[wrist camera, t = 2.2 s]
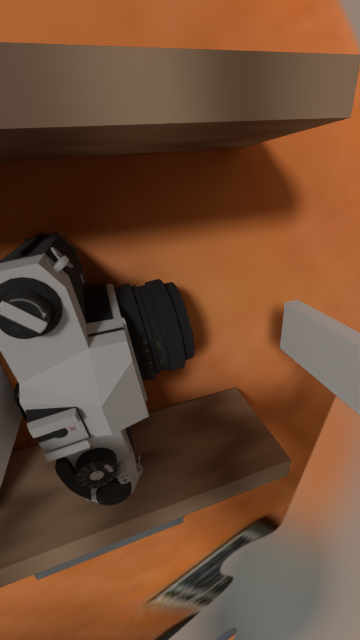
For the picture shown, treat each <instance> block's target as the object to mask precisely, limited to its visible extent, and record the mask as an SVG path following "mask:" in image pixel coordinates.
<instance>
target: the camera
mask: <svg viewBox="0 0 360 640" xmlns="http://www.w3.org/2000/svg"><path fill="white" fill-rule="evenodd" d="M0 351H1V353H2V355H3V357H4V358H5V360H6V362H7V363H8V365H9V367H10V369H11V370H12V372H13V374H14V376H15V377H16V379H17V381H18V383H17V384H16V386H15V390H14V395H13V399H14V401H15V403H16V405H17V406H18V408H19V410H20V412H21V414H22V415H23V417H24V419H25V420H26V422H27V427H28V430H29V432H30V434H31V435H32V437H33V438H37V439H38V441H39V445H40V447H41V448H42V450H43V452H44V453H45V454H44V456H45V458H46V459H47V461H48V462H50V461H53V460H56V464H55V470H56V473H57V475H58V476H59V478H60V479H61V481H62V482H63V483H64V484H65V485H66V486H67V487H68V488H69V489H70V490H71V491H72V492H74V493H76V494H77V495H79V496H81V497H84V498H85V499H86V500H89V501H93V502H97V503H99V504H102V505H106V506H110V505H116V504H119V503H121V502H123V501H124V500H126V499H127V498H128V497H129V496H130V494H131V493H132V492H133V490H134V488H135V486H136V484H137V482H138V480H139V479H138V477H140V476H141V474H142V472H143V468H142V466H141V465H140V455H138V456H137V458H136V460H137V459H138V458H139V461H138V464H136V460H135V451H134V448H133V442H132V436H131V430H130V426H131V425H133V424H135V423H137V422H139V421H141V420H143V419H145V418H147V417H149V415H148V410H147V406H146V402H145V401H148V399H147V396H146V392H145V389H144V385H143V382H142V381H144V380H147V379H148V381H150V380H153V379H156V376H155V375H157V374H160V372H161V371H164V370H167V369H169V370H170V371H172V370H176V369H179V368H182V367H184V365H185V360H187V359H190V358H193V356H194V340H193V334H192V329H191V325H190V321H189V317H188V314H187V310H186V307H185V305H184V302H183V299H182V297H181V295H180V293H179V291H178V289H177V287H176V286H175V284H174V283H172V282H170V283H166V284H163V282H162V281H161V280H160V279H157V280H153V281H149V282H146V283H145V285H143V286H140V287H136V286H133V287H130V284H125V285H122V287H121V288H117V289H114V286H113V284H107V283H100V284H91V285H88V284H87V281H86V278H85V275H84V272H83V269H82V266H81V263H80V260H79V257H78V254H77V251H76V248H75V247H74V246H73V245H72V244H71V243H69V242H68V241H67V240H66V239H65V238H64V237H63V236H62V235H61V234H60V233H56V234H51V235H46V236H43V234H42V233H39V234H37V235H36V236H34V237H33V238H31V239H26V240H25V241H24V243H22V244H21V245H20V246H19V247H17V248H16V249H15V250H14V251H12V252H11V253H10V254H9V255H7V256H6V257H5V258H3V259H2V260H0ZM137 470H139V471H137Z"/></svg>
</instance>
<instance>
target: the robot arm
mask: <svg viewBox="0 0 360 640" xmlns="http://www.w3.org/2000/svg"><path fill="white" fill-rule="evenodd" d="M280 349H282V350H283V351H284V352H285V353H286V354H287V355H289V356H290V357H291V358H292V359H293V360H295V361H296V362H297V363H298V364H299V365H301V366H302V367H303V368H304V369H305V370H306V371H308V372H309V373H310V374H311V375H312V376H314V377H315V378H316V379H317V380H318V381H320V382H321V383H322V384H323V385H324V386H325V387H327V388H328V389H329V390H330V391H331V392H333V393H334V394H335V395H336V396H337V397H339V398H340V399H341V400H342V401H343V402H345V403H346V404H347V405H348V406H349V407H350V408H352V409H353V410H354V411H355V412H356V413H358V414H359V415H360V333H359V332H357V331H355V330H353V329H351V328H350V327H348V326H346V325H344V324H342V323H340V322H338V321H336V320H335V319H333V318H331V317H329V316H327V315H325V314H323V313H321V312H320V311H318V310H316V309H314V308H312V307H310V306H308V305H306V304H305V303H303V302H301V301H299V300H295V301H290V302H285V306H284V315H283V324H282V333H281V342H280ZM13 395H14V391H13V389H12V387H11V385H10V383H9V381H8V379H7V376H6V374H5V372H4V370H3V368H2V366H1V364H0V488H1V484H2V481H3V478H4V475H5V471H6V468H7V465H8V462H9V458H10V455H11V452H12V449H13V445H14V442H15V439H16V435H17V432H18V429H19V426H20V422H21V419H22V416H23V415H22V414H21V412H20V410H19V408H18V406H17V405H16V403H15V401H14V399H13Z"/></svg>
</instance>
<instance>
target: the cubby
mask: <svg viewBox="0 0 360 640" xmlns="http://www.w3.org/2000/svg"><path fill="white" fill-rule="evenodd" d="M359 66H360V55H350V54H321V53H293V52H264V51H235V50H207V49H178V48H149V47H121V46H92V45H63V44H35V43H6V42H0V162H2V161H20V160H37V159H54V158H71V157H88V156H105V155H123V154H140V153H157V152H174V151H191V150H208V149H226V148H242V147H246V146H250V145H253V144H257V143H260V142H264V141H268V140H271V139H275V138H278V137H282V136H286V135H289V134H293V133H296V132H300V131H304V130H307V129H311V128H314V127H318V126H322V125H325V124H329V123H332V122H336V121H340V120H343V119H347V118H350V117H351V112H352V106H353V100H354V95H355V89H356V83H357V78H358V72H359ZM148 415H149V417H147V418H145V419H143V420H141V421H139V422H137V423H135V424H133V425H131V426H130V430H131V436H132V442H133V448H134V451H135V460H136V458H137V456H138V455H140V465H141V466H142V468H143V472H142V474H141V476H140V477H138V479H139V480H138V482H137V484H136V486H135V488H134V490H133V492H132V493H131V494H130V496H129V497H128V498H127V499H126V500H124V501H123V502H121V503H119V504H116V505H110V506H106V505H102V504H99V503H97V502H93V501H89V500H86V499H85V498H84V497H81V496H79V495H77V494H76V493H74V492H72V491H71V490H70V489H69V488H68V487H67V486H66V485H65V484H64V483H63V482H62V481H61V479H60V478H59V476H58V475H57V473H56V470H55V464H56V460H53V461H50V462H48V461H47V459H46V458H45V456H44V454H45V453H44V452H43V450H42V448H41V447H40V445H39V444H37V445H34V446H30V447H27V448H23V449H20V450H17V451H13V452H11V455H10V458H9V462H8V465H7V468H6V471H5V475H4V478H3V481H2V484H1V488H0V587H3V586H6V585H8V584H11V583H13V582H16V581H18V580H21V579H23V578H26V577H29V576H31V575H34V574H36V573H39V572H41V571H44V570H46V569H49V568H52V567H54V566H57V565H59V564H62V563H64V562H67V561H69V560H72V559H75V558H77V557H80V556H82V555H85V554H87V553H90V552H93V551H95V550H98V549H100V548H103V547H105V546H108V545H110V544H113V543H116V542H118V541H121V540H123V539H126V538H128V537H131V536H133V535H136V534H139V533H141V532H144V531H146V530H149V529H151V528H154V527H156V526H159V525H162V524H164V523H167V522H169V521H172V520H174V519H177V518H180V517H182V516H185V515H187V514H190V513H192V512H195V511H197V510H200V509H203V508H205V507H208V506H210V505H213V504H215V503H218V502H220V501H223V500H226V499H228V498H231V497H233V496H236V495H238V494H241V493H243V492H246V491H249V490H251V489H254V488H256V487H259V486H261V485H264V484H267V483H269V482H272V481H274V480H277V479H279V478H282V477H284V476H287V475H288V473H289V468H290V462H291V459H290V458H289V457H288V455H287V454H286V453H285V451H284V450H283V449H282V447H281V446H280V445H279V443H278V442H277V441H276V439H275V438H274V437H273V435H272V434H271V433H270V431H269V430H268V429H267V427H266V426H265V425H264V424H263V422H262V421H261V420H260V418H259V417H258V416H257V414H256V413H255V412H254V410H253V409H252V408H251V406H250V405H249V404H248V402H247V401H246V400H245V398H244V397H243V396H242V394H241V393H240V392H239V390H238V389H237V388H232V389H229V390H225V391H222V392H218V393H215V394H211V395H208V396H204V397H201V398H197V399H194V400H190V401H187V402H184V403H180V404H177V405H173V406H170V407H166V408H163V409H159V410H156V411H152V412H149V413H148ZM138 461H139V458H138V459H137V460H136V464H138ZM137 471H139V470H137Z"/></svg>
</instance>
